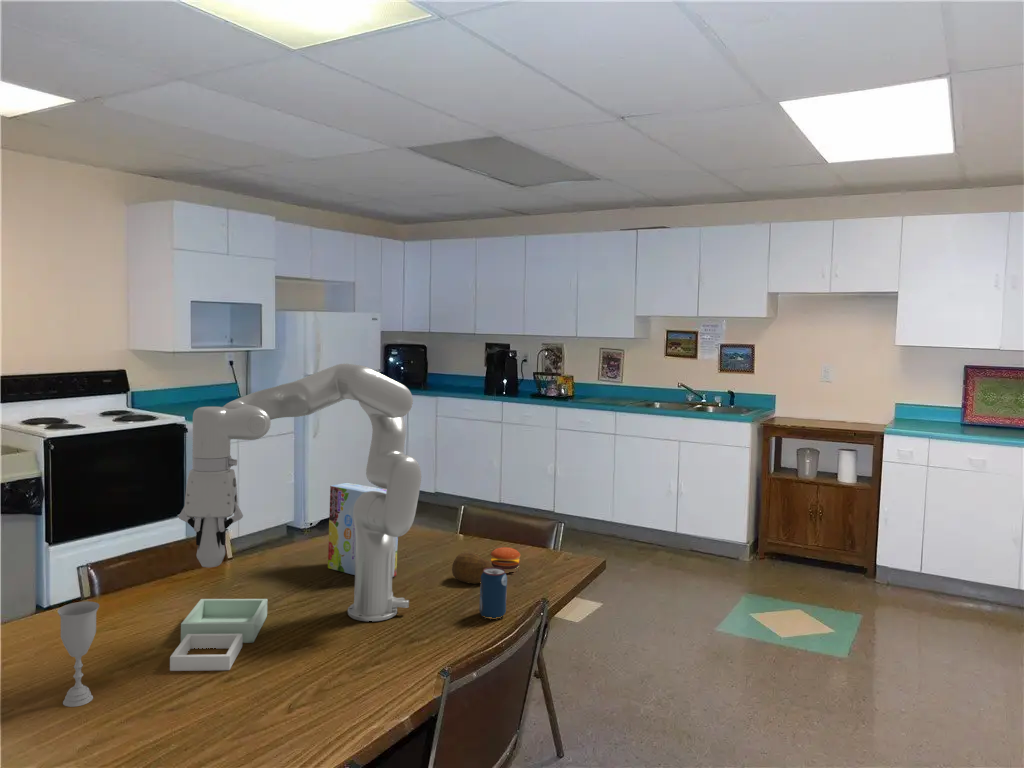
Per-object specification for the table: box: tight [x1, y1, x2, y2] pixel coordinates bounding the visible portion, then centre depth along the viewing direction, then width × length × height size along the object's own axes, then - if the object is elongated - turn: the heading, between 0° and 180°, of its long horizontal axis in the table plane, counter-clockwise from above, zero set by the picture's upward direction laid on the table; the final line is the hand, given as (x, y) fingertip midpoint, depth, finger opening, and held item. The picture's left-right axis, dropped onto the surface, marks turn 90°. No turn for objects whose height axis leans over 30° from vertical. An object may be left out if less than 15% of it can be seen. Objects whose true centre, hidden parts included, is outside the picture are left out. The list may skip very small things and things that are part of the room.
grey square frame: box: [169, 634, 244, 672], centre depth 163 cm, size 12×12×3 cm
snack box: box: [327, 482, 399, 578], centre depth 225 cm, size 22×9×26 cm, turn 58°
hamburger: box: [489, 546, 522, 570], centre depth 235 cm, size 9×10×7 cm
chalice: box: [57, 600, 100, 708], centre depth 143 cm, size 7×7×18 cm
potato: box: [451, 552, 492, 584], centre depth 220 cm, size 8×12×9 cm
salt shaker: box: [195, 513, 226, 568], centre depth 162 cm, size 6×6×13 cm
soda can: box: [478, 567, 508, 618], centre depth 195 cm, size 7×7×12 cm
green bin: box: [180, 598, 268, 644], centre depth 179 cm, size 16×16×4 cm
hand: (210, 547), depth 162 cm, fingers closed on salt shaker, 3 cm apart
